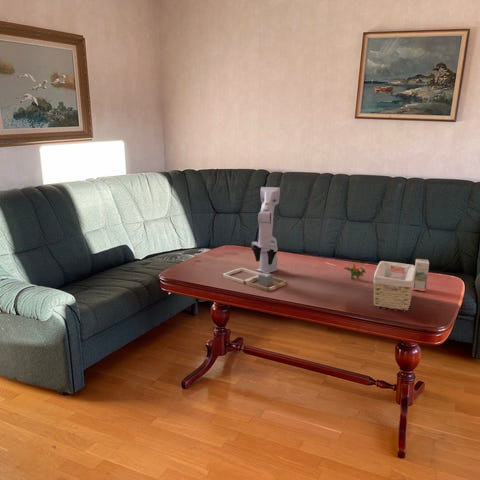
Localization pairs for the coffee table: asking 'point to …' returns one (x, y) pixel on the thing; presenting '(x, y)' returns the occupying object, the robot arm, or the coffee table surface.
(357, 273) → the figurine
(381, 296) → the storage basket
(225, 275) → the cream square frame
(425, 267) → the syrup box
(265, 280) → the letter cube
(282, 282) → the brown wooden frame
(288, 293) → the coffee table surface
